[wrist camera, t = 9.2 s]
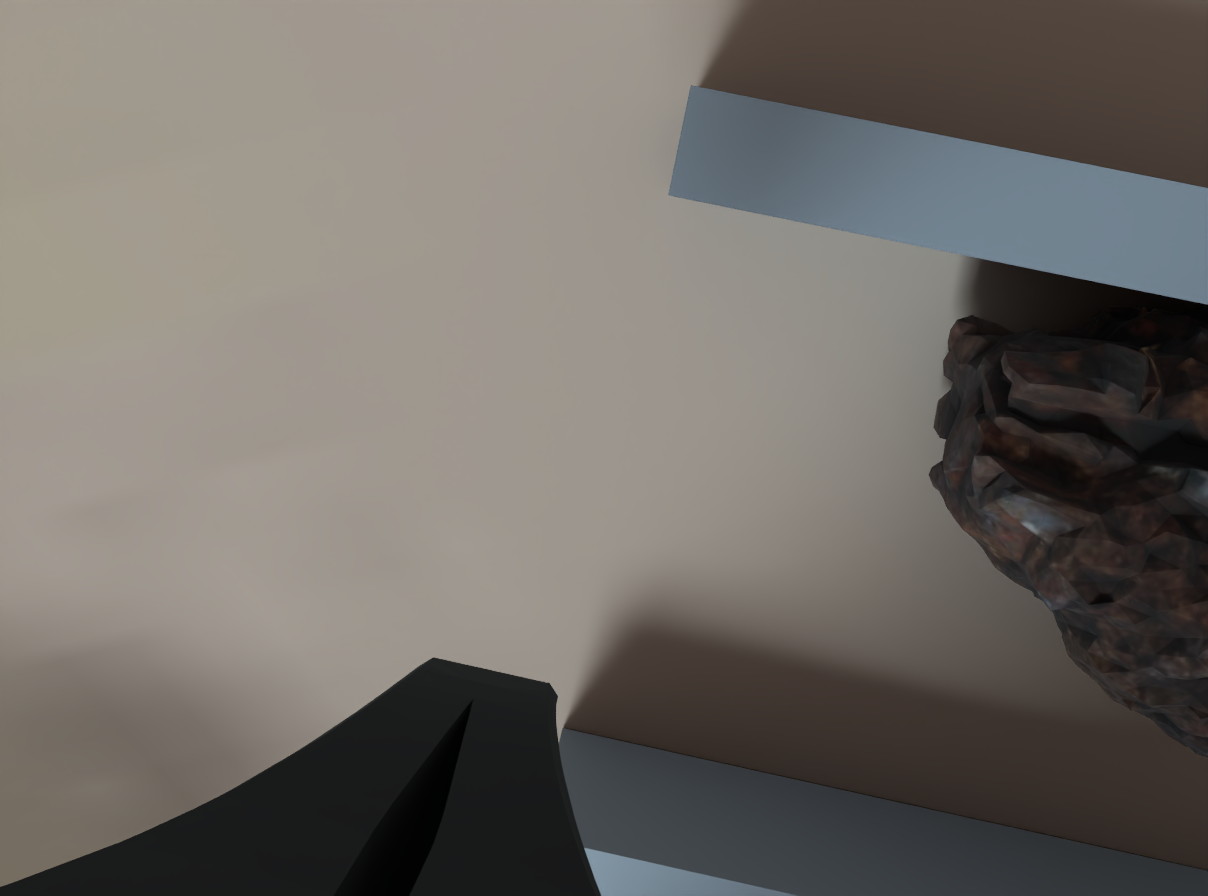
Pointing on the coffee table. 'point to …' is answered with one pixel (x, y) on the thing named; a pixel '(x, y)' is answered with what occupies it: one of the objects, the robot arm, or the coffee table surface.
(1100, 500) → the jagged brown rock
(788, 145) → the grey rectangular tray
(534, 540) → the coffee table surface
